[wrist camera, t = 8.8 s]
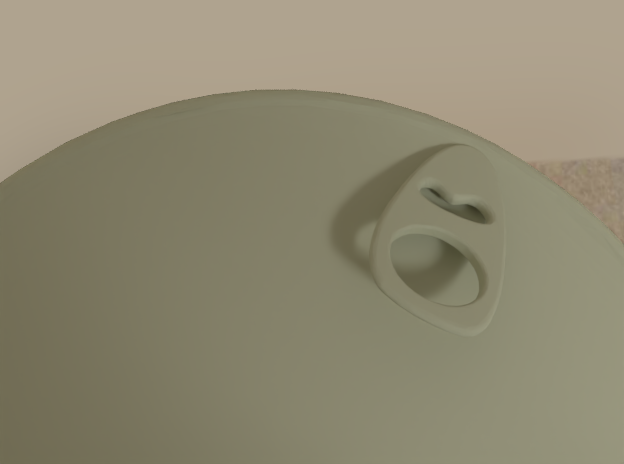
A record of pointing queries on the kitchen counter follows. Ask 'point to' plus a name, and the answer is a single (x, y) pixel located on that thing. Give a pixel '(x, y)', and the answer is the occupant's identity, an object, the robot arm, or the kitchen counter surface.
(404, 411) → the can
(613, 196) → the kitchen counter surface
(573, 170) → the kitchen counter surface
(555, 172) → the kitchen counter surface
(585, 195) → the kitchen counter surface
